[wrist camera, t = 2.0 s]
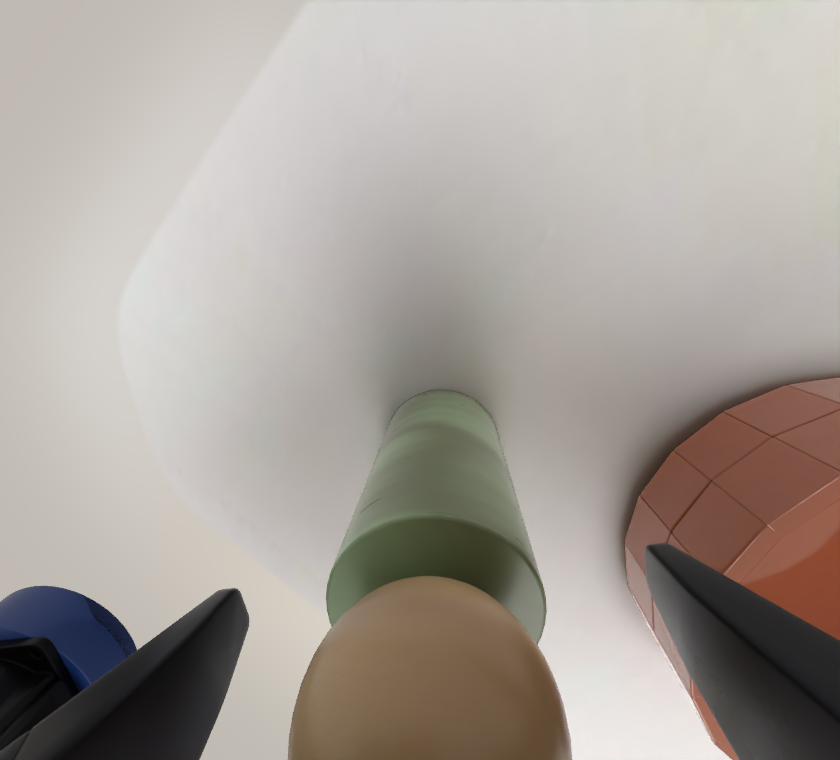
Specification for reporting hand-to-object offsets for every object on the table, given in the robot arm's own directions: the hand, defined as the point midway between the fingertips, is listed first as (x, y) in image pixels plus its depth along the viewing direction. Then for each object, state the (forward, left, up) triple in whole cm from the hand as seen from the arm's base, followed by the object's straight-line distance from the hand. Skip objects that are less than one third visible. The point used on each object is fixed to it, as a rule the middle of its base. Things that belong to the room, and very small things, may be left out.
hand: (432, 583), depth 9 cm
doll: (0, 0, -7) cm, 7 cm away
